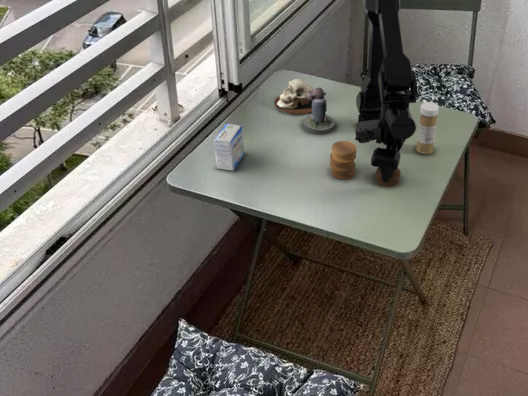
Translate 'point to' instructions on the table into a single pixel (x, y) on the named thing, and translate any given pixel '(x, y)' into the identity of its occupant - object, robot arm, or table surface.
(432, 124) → the sprinkles bottle
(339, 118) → the table surface
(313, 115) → the figurine
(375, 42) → the robot arm
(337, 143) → the oak chip
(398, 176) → the walnut chip
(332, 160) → the chip pile
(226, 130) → the medicine box
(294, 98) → the skull
